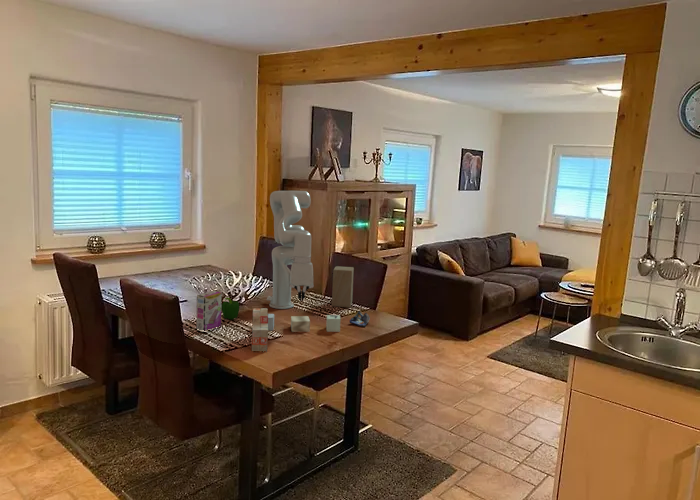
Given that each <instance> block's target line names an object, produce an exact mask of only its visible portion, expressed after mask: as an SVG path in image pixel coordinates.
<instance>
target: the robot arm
mask: <svg viewBox="0 0 700 500" xmlns="http://www.w3.org/2000/svg"><path fill="white" fill-rule="evenodd" d="M269 203H270V208H271V211H272V216H273V229H274V231H273V235H274V237H273V238H274V241H275V242H276V243H277V244H281V245H279V246H276V247H274V248H273V249H272V250H271V260H272V261H271V262H272V296H271V295H268V296H267V297H266V301H270V303H269V307H270V308H273V309H277V310H287V309H291V308H293V307H294V306H295V304H294V303H293V302H292V301H291V300H292V288H293V289H295V290H296V291H297V299H299V302H301V301H302V302H303V301H304V299H305V298H306V292H307V290H309V289H313V288H314V285H315V284H314V267H313V263H312V261H311V259H312V234H311V233H310V232H309V230H305V228H304V227H303V226H302V225H299V224H296V223H298V222H299V221H300V220H301V219H302V218H303V211H302V209H309V208H310V206H311V203H312V200H311V195H310V193H309V192H308V191H306V190H274V191H272V192H270V195H269ZM289 265H291V267H290V268H289V267H288V266H289ZM301 287H303V288H302V289H301Z"/></svg>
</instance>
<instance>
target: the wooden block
mask: <svg viewBox="0 0 700 500" xmlns="http://www.w3.org/2000/svg"><path fill="white" fill-rule="evenodd" d="M354 270H355V268H354V266H339V265H337V266H335V267H334V269H333V271H332V272H333V273H332V292H331V293H332V294H331V306H332V307H337V308H338V307H339V308H351V306H352V304H353V293H354V275H355V274H354V272H355V271H354Z"/></svg>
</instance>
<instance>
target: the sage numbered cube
mask: <svg viewBox="0 0 700 500" xmlns="http://www.w3.org/2000/svg"><path fill="white" fill-rule="evenodd" d="M325 325H326V328H325V329H326V332H327V333H329V332H333V333H334V332H335V333H338V332H339V333H340V332H341V315H340V314H337V315H336V314H335V315H334V314H326V323H325Z"/></svg>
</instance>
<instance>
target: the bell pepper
mask: <svg viewBox="0 0 700 500" xmlns="http://www.w3.org/2000/svg"><path fill="white" fill-rule="evenodd" d="M224 299H225V300H226V301H225V300H224V301H223V303H222V305H221V314H222V317H223V318H224V319H226V318H228V319H227V320H235V319H234V318H236V319H237V318H238V316H239V313H240V312H239V311H240V302H239V300H238V301H237V300H236V301H234V300H232V299H231V298H230V297H225V298H224ZM227 300H228V301H227Z"/></svg>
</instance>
